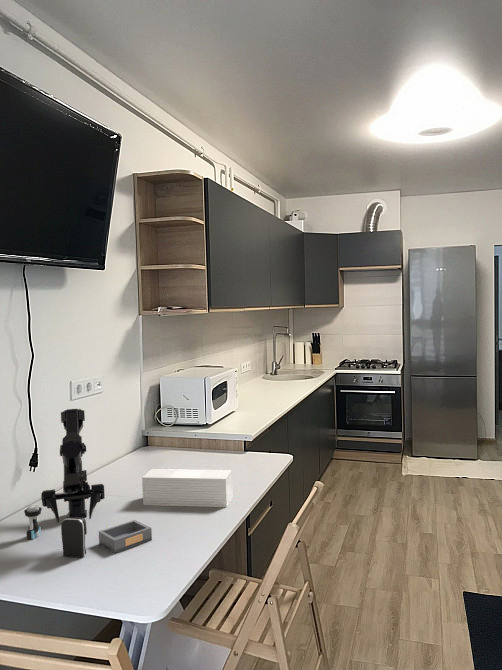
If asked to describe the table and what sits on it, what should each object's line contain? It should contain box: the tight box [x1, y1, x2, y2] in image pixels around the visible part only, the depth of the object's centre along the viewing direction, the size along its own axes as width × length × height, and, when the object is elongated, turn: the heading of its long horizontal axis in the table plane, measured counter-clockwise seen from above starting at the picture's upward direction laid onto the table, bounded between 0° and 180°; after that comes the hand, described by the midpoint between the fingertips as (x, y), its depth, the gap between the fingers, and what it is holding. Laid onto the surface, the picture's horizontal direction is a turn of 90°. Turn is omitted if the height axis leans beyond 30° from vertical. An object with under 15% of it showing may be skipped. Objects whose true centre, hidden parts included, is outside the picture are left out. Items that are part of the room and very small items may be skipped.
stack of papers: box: [141, 468, 234, 508], centre depth 215 cm, size 32×11×11 cm, turn 80°
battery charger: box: [60, 516, 88, 558], centre depth 171 cm, size 7×4×11 cm, turn 80°
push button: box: [23, 504, 43, 540], centre depth 187 cm, size 7×5×10 cm
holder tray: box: [98, 519, 153, 554], centre depth 179 cm, size 10×13×4 cm
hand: (74, 520), depth 173 cm, fingers open, 9 cm apart
